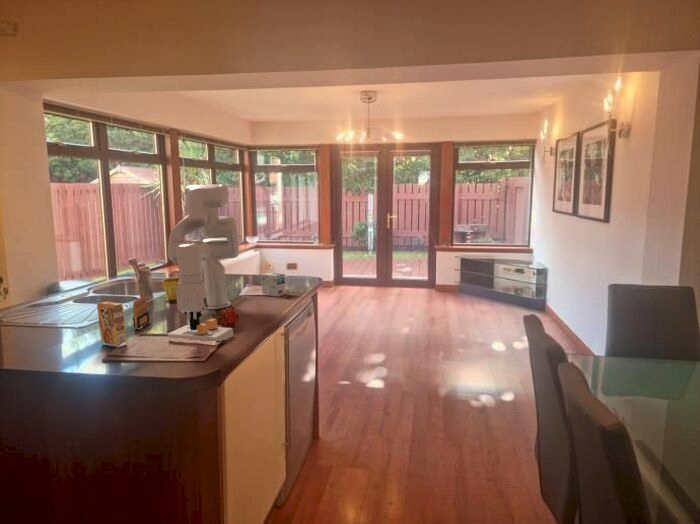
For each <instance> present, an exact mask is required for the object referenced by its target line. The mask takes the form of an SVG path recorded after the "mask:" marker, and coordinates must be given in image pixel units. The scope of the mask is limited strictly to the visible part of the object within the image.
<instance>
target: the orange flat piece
mask: <svg viewBox="0 0 700 524" xmlns="http://www.w3.org/2000/svg"><path fill="white" fill-rule="evenodd" d="M132 310H133V311H132V312H133V318H132V319H133V329H134V328H140V327H141V326H143V325H144V324H146V323H148V322H149V321H150V314H149V310H148V304H147V298H146V296H145V295H144V294H143V295H141V296H140V297H138V298H137V299H135V300H133V309H132Z"/></svg>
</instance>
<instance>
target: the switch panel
mask: <svg viewBox="0 0 700 524" xmlns="http://www.w3.org/2000/svg"><path fill="white" fill-rule="evenodd" d="M168 337H169V338H183V339H189V340H200V341H222V340H225V341H227V340H229V339H231V338H232V337H234V327H228V328H223V327H222V326H217V327H216V328H214V329H208V332H207V333H205V334H197V330H195V331H194V330H191V328H190V324H186V325H184V326H181V327H179V328H177V329H175V330H173V331H170V332H169V333H167V338H168ZM230 337H231V338H230ZM228 338H229V339H228ZM226 339H227V340H226Z"/></svg>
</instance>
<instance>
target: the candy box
mask: <svg viewBox="0 0 700 524" xmlns="http://www.w3.org/2000/svg"><path fill="white" fill-rule="evenodd" d="M96 307H97V308H96V309H97V314H98V322H99V329H100V330H99V331H100V336H101V337H100V338H101V343H102V342H105V343H108V344H113V345H119V344H122V343H124V342H127V343H128V340H127V333H126V325H125V317H124V308H123V303H121V302H111V301H104V302H99V303H97V304H96Z"/></svg>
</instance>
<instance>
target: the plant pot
mask: <svg viewBox="0 0 700 524" xmlns="http://www.w3.org/2000/svg"><path fill="white" fill-rule="evenodd" d="M178 283H180V279H178V278H177V277H169V278H164V279H162V280H161V285H162V286H161V287H162V288H163V289H164V292H165V295H166V298H167V300H169V301H175V300H176V301H177V287H178Z"/></svg>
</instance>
